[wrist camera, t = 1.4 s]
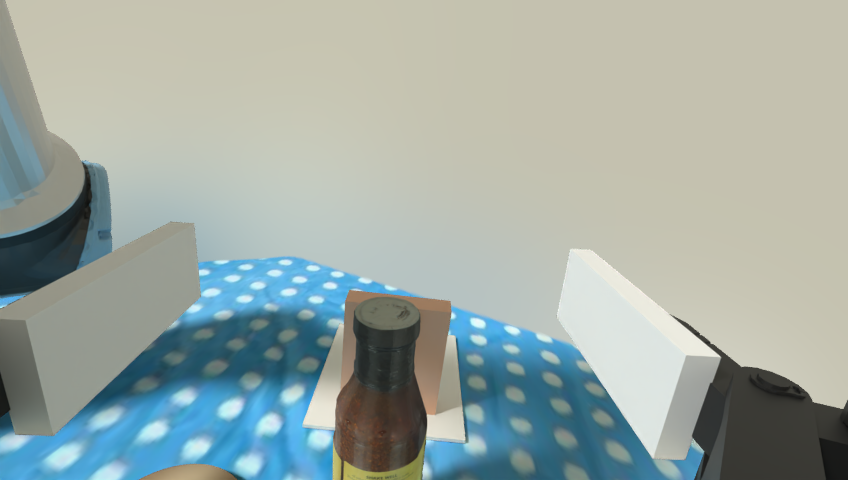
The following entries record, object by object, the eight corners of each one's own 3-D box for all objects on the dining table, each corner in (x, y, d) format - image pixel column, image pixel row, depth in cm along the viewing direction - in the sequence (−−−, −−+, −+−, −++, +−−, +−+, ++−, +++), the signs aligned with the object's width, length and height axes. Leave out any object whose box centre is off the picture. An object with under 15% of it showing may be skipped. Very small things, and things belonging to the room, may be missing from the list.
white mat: (465, 443, 42) (465, 440, 41) (302, 427, 41) (302, 424, 41) (454, 338, 58) (455, 335, 58) (339, 326, 58) (339, 323, 58)
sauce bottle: (430, 547, 32) (470, 323, 25) (362, 609, 28) (386, 361, 21) (378, 485, 36) (399, 279, 29) (312, 531, 32) (318, 303, 25)
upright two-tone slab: (435, 415, 44) (451, 312, 40) (339, 405, 44) (345, 301, 39) (434, 398, 46) (450, 300, 42) (344, 389, 46) (349, 289, 42)
